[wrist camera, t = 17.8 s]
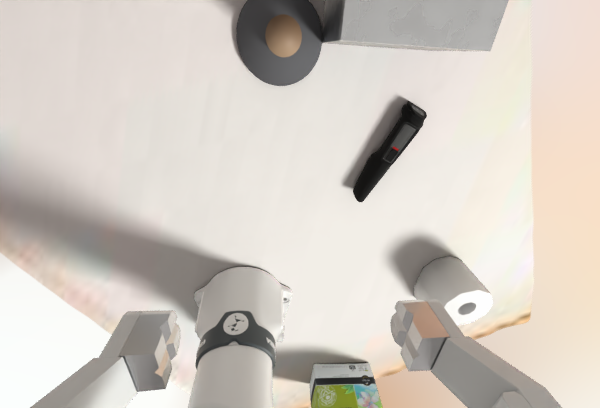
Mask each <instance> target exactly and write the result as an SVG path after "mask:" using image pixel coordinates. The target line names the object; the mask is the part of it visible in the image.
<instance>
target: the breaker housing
mask: <svg viewBox="0 0 600 408" xmlns="http://www.w3.org/2000/svg"><path fill="white" fill-rule="evenodd" d="M507 3H508V0H325V2H324V14H323V25H322V43H331V44H345V45H359V46H372V47H386V48H400V49H414V50H428V51H491V48H492V45H493V42H494V39H495V37H496V34H497V31H498V28H499V25H500V23H501V20H502V17H503V14H504V12H505V9H506V6H507Z"/></svg>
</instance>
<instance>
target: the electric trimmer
mask: <svg viewBox="0 0 600 408" xmlns="http://www.w3.org/2000/svg"><path fill="white" fill-rule="evenodd" d="M426 117H427V115H426V112H425V111H424V110H422V109H421V108H419V107H417V106H416V105H414V104H413V103H411V102H408V103H407V105H404V106H403V108H402V115H401V118H400V120H399V121H398V123H397V124H396V126H395V127H394V129H393V130H392V132H391V133H390V135H389V136H388V138H387V139H386V141H385V142H384V144H383V145H382V147H381V148H380V150H378V151H377V152H375V153H374V154H372V155H371V156H370V158H369V160H368V162H367V163H366V165H365V167H364V169H363V171H362V173H361V175H360V177H359V179H358V181H357V183H356V185H355V187H354V189H353V193H354V195H355V198H356V199H357V201H359V202H363V201H364V200H365V198H366V197H367V196H368V194H369V193H370V192H371V191H372V189H373V188H374V187H375V185H376V184H377V183H378V182H379V180H380V179H381V178H382V177H383V175H384V174H385V173H386V172H387V170H388V169H389V168H390V166H391V165H392V164H393V163H394V162H395V161H396V159H397V158H398V157H399V156H400V155H401V153H402V152H403V151H404V149H405V148H406V147H407V146H408V144H409V143H410V142H411V141H412V139H413V138H414V137H415V135H416V134H417V133H418V131H419V130H420V128H421V127H422V126H423V122H424V120H425V118H426Z"/></svg>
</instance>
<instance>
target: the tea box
mask: <svg viewBox="0 0 600 408" xmlns="http://www.w3.org/2000/svg"><path fill="white" fill-rule="evenodd" d="M310 397H311V408H383V407H382V404H381V400H380V397H379V393H378V390H377V387H376V383H375V379H374V376H373V373H372V370H371V367H370V364H369V363H360V364H314V366H313V371H312V376H311V381H310Z"/></svg>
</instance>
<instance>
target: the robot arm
mask: <svg viewBox="0 0 600 408" xmlns="http://www.w3.org/2000/svg"><path fill="white" fill-rule="evenodd" d="M292 293H293V292H292V290H291V289H290V288H288V287H286V286H284V285H281V284H280V283H279V282H278V281H277V280H276V279H275V278H274V277H273V276H272V275H270V274H269V273H267V272H265V271H263V270H260V269H257V268H252V267H235V268H230V269H227V270H224V271H222V272H220V273H218V274H217V275H216V276H214V277H213V278H212V279H211V281H210V282H209V283H208V284H207V285H206V286H205V287H203V288H201V289H199V290H197V291H196V292H195V295H194V300H195V302H196V304H197V306H198V308H199V312H198V316H197V321H196V326H195V332H196V333H197V335H198V337H199V338H200V340H201V341H200V345H199V347H198V351H197V356H196V357H197V359H196V369H197V372H196V376H195V380H194V384H193V388H192V392H191V396H190V401H189V405H188V408H274V405H273V383H272V370H273V369H274V366H275V359H276V348H275V343H276V342H283V338H284V319H285V316H286V313H287V310H288V307H289V304H290V302H291V299H292ZM395 309H396V311H397V312H396V313H395V314H394V315H393V316H392V319H391V331H392V335H393V338H394V340H395V342H396V343H397V344H398V345H400V346H401V347H402V349H401V356H402V358H403V360H404V362H405V364H406V367H407V369H408V371H425V370H426V371H427V370H432V371H431V372H432V373H433V374H434V375H435V376H436V377H437V378H438V379H439V380H440V381H441V382H442V383H443V384H444V385H445V386H446V387H447V388H448V389H449V390H450V391H451V392H452V393H453V394H454V395H455V396H456V397H457V398H458V399H459V400H460V401H462V402H463V404H464V405H465V406H467V407H468V408H561V406H560V405H559V404H558V402H557V401H556V400H555V399H554V398H553V396H552V395H551V394H550V393H549V392H548V391H547V389H546V388H545V387H543V386H541V385H540V384H539V383H537V382H536V381H534V380H533V379H531V378H530V377H528V376H527V375H525V374H524V373H522V372H521V371H519V370H518V369H516V368H515V367H513V366H512V365H510V364H509V363H507V362H506V361H504V360H503V359H501V358H500V357H498V356H497V355H495V354H494V353H492V352H491V351H490V350H488V349H486V348H485V347H484V346H482V345H481V344H479V343H478V342H476V341H475V340H473V339H472V338H470V337H465V336H464V335H463V333H462V332H461V331H460V329H459V328H458V326H457V325H456V324H455V322H454V321H453V319H452V318H451V317H450V315H449V314H448V312H447V311H446V310H445V308H444V307H443V305H442V304H441V303H440V301H438V300H437V299H432V300H407V301H398V302H397V303H396V306H395ZM176 319H177V315H176V312H175V311H130V312H127V313H126V314H125V315H124V316H123V317H122V319H121V320H120V322H119V324H118V326H117V327H116V329H115V331H114V332H113V334H112V336H111V338H110V339H109V341H108V343H107V344H106V346H105V348H104V350H103V351H102V353H101V355H100V356H99V358H94V359H92V360H91V361H90V362H88V363H87V364H86V365H85V366H83V367H82V368H81V369H79V370H78V371H77V372H75V373H74V374H73V375H71V376H70V377H69V378H68V379H66V380H65V381H64V382H62V383H61V384H60V385H59V386H57V387H56V388H55V389H54V390H52V391H51V392H50V393H48V394H47V395H46V396H44V397H43V398H42V399H41V400H39V401H38V402H37V403H35V404H34V405H33V406H32V407H30V408H125V407H126V406H127V405H128V404H129V403H130V401H131V400H132V399H133V398H134V397H135V396H136V395H137V392H139V391H148V390H159V389H165V388H166V386H167V383H168V380H169V376H170V373H171V370H172V365H171V360H172V359H173V358H174V357H175V356H176V355H177V351H178V348H179V343H180V328H179V326H178V325H177V324H176V323H175V322H176Z"/></svg>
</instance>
